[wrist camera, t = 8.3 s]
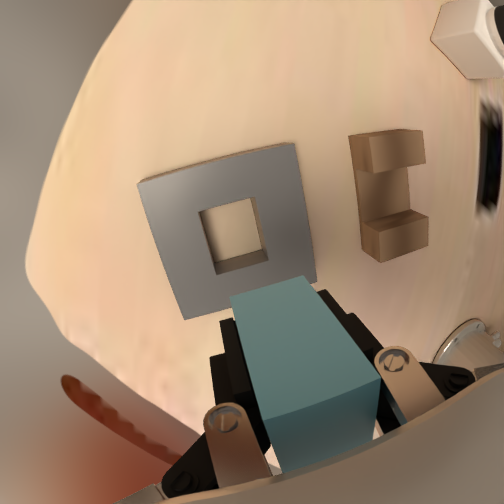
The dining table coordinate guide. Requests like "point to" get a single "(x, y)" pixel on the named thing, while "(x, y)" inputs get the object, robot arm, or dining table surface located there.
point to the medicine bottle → (472, 37)
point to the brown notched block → (388, 192)
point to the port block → (220, 193)
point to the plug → (305, 373)
